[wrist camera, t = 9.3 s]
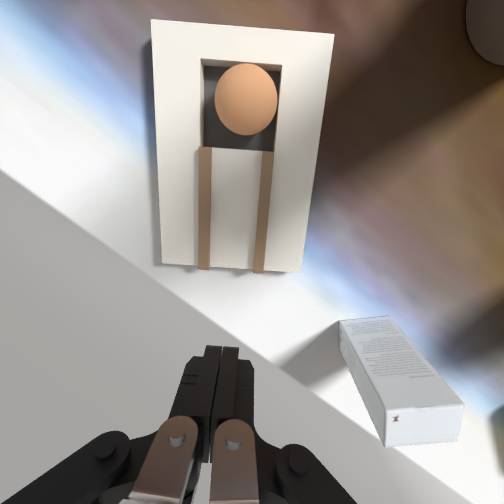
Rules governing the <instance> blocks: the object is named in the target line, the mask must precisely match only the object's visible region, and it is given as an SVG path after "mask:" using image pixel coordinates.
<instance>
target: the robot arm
mask: <svg viewBox="0 0 504 504" xmlns="http://www.w3.org/2000/svg"><path fill="white" fill-rule="evenodd" d="M466 26H467V31H468V35H469V38H470V41H471V43H472V45H473V46H474V48H475V50H476V51H477V52H478V53H479V54H480V55H481V56H482V57H483V58H484V59H485V60H487V61H489V62H491V63H493V64H497V65H502V66H504V0H467V7H466ZM238 354H239V348H238V347H226V346H224V347H223V352H222V346H211V345H207V346H206V349H205V353H204V356H203V357H197V356H193V357H192V358H191V360H190V361H189V362H188V363H187V364H186V366H185V369H184V373H183V376H182V379H181V381H180V385H179V387H178V391H177V394H176V396H175V400H174V403H173V406H172V409H171V412H170V415H169V417H168V419H167V420H166V421H165V422H164V423H163V424H162V425H161V426H160V428H159V429H158V430H157V431H156V432H154V433H152V434H150V435H147V436H144V437H140V438H136V439H132V440H129V438H128V436H127V435H126V434H125V433H123V432H120V431H110V432H106V433H103V434H101V435H99V436H98V437H96V438H95V439H93V440H92V441H90V442H89V443H88V444H86V445H85V446H83V447H82V448H80V449H79V450H77V451H76V452H75V453H73V454H72V455H70V456H69V457H67V458H66V459H64V460H63V461H62V462H60V463H59V464H57V465H56V466H55V467H53V468H52V469H50V470H49V471H47V472H46V473H44V474H43V475H42V476H40V477H39V478H37V479H36V480H34V481H33V482H32V483H30V484H29V485H27V486H26V487H24V488H23V489H21V490H20V491H19V492H17V493H16V494H14V495H13V496H11V497H10V498H9V499H7V500H6V501H4V502H3V503H1V504H193V502H194V498H195V494H196V490H197V483H198V480H199V475H200V469H201V464H202V463H208V460H209V453H210V463H212V472H211V486H210V500H209V504H357V503H356V502H355V501H354V499H352V497H351V496H350V495H349V494H348V493H347V492H346V490H345V489H344V488H343V487H342V486H341V485H340V484H339V483H338V482H337V480H336V479H335V478H334V477H333V476H332V475H331V474H330V472H329V471H328V470H327V469H326V468H325V467H324V466H323V465H322V464H321V462H320V461H319V460H318V459H317V458H316V457H315V456H314V454H313V453H312V452H310V450H308V449H307V448H305V447H304V446H301V445H298V444H289V445H286V446H284V447H283V448H282V449H279V448H277V447H275V446H272V445H270V444H268V443H266V442H265V441H264V440H262V439H261V438H260V436H259V435H258V434H257V432H256V430H255V427H254V368H253V366H252V364H251V362H250V360H240V359H238Z"/></svg>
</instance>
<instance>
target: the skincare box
mask: <svg viewBox="0 0 504 504" xmlns="http://www.w3.org/2000/svg"><path fill="white" fill-rule="evenodd" d="M339 334H340V351H341V353H342V355H343V357H344V360H345V362H346V364H347V367H348V369H349V371H350V373H351V375H352V378H353V380H354V382H355V384H356V386H357V389H358V391H359V393H360V395H361V397H362V400H363V402H364V404H365V406H366V408H367V411H368V413H369V415H370V417H371V420H372V422H373V424H374V426H375V428H376V430H377V433H378V435H379V437H380V439H381V442H382V443H383V446H384V447H395V446H404V445H416V444H429V443H441V442H455V441H457V439H458V433H459V428H460V423H461V418H462V414H463V410H464V406H465V405H464V403H463V402H462V401H461V399H460V398H459V397H458V396H457V395H456V394H455V393H454V391H453V390H452V389H451V388H450V387H449V386H448V384H447V383H446V382H445V381H444V380H443V378H442V377H441V376H440V375H439V374H438V373H437V371H436V370H435V369H434V368H433V367H432V365H431V364H430V363H429V362H428V361H427V360H426V358H425V357H424V356H423V355H422V354H421V352H420V351H419V350H418V349H417V348H416V346H415V345H414V344H413V343H412V342H411V340H410V339H409V338H408V337H407V336H406V334H405V333H404V332H403V331H402V330H401V329H400V327H399V326H398V325H397V324H396V323H395V321H394V320H393V319H392V318H391V317H390V316H383V317H373V318H363V319H353V320H343V321H339Z"/></svg>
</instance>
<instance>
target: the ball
mask: <svg viewBox="0 0 504 504" xmlns="http://www.w3.org/2000/svg"><path fill="white" fill-rule="evenodd" d="M215 107H216V111H217V114H218V116H219V118H220V120H221V121H222V123H223V124H224V125H225V126H226V127H227V128H228V129H229V130H231V131H232V132H234V133H237V134H240V135H253V134H256V133H258V132H260V131H262V130H263V129H264V128H266V127H267V126H268V125H269V123H270V122H271V121H272V119H273V117H274V115H275V112H276V108H277V91H276V87H275V85H274V82H273V80H272V79H271V77H270V76H269V75H268V73H267V72H266V71H264V70H263V69H262V68H260V67H258V66H256V65H253V64H248V63H244V64H238V65H235V66H233V67H231V68H230V69H228V70H227V71H226V72H225V73H224V74H223V75H222V77H221V78H220V80H219V82H218V84H217V87H216V91H215Z"/></svg>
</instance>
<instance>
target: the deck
mask: <svg viewBox="0 0 504 504" xmlns="http://www.w3.org/2000/svg"><path fill="white" fill-rule="evenodd" d="M151 33H152V55H153V77H154V99H155V121H156V143H157V165H158V187H159V209H160V231H161V253H162V263H165V264H179V265H194V266H198V269H205V270H209V267H223V268H238V269H253V273H263V271H264V270H267V271H282V272H297V273H300V272H301V265H302V258H303V251H304V244H305V237H306V230H307V223H308V216H309V209H310V202H311V195H312V188H313V181H314V174H315V167H316V160H317V153H318V146H319V139H320V132H321V125H322V118H323V111H324V104H325V97H326V90H327V83H328V76H329V69H330V62H331V55H332V48H333V41H334V34H326V33H313V32H301V31H289V30H277V29H264V28H252V27H240V26H227V25H215V24H203V23H191V22H178V21H166V20H154V19H151ZM244 63H248V64H253V65H256V66H258V67H260V68H262V69H263V70H264V71H266V72H267V73H268V75H269V76H270V77H271V79H272V80H273V82H274V85H275V87H276V91H277V98H278V102H277V108H276V109H277V113H276V112H275V115H274V117H273V119H272V121H271V122H270V123H269V125H268V126H267V127H266V128H264V129H263V130H262V131H260V132H258V133H256V134H253V135H240V134H237V133H234V132H232V131H231V130H229V129H228V128H227V127H226V126H225V125H224V124H223V123H222V121H221V120H220V118H219V116H218V114H217V111H216V107H215V91H216V87H217V84H218V82H219V80H220V78H221V77H222V75H223V74H224V73H225V72H226V71H227V70H228V69H230V68H231V67H233V66H235V65H238V64H244ZM279 75H280V80H279ZM204 80H205V98H204ZM278 86H279V91H278ZM275 120H276V124H275ZM274 131H275V135H274ZM273 142H274V147H273ZM213 147H218V148H213ZM226 148H231V149H226ZM240 149H244V150H240ZM253 150H258V151H253ZM267 151H271V152H267Z"/></svg>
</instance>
